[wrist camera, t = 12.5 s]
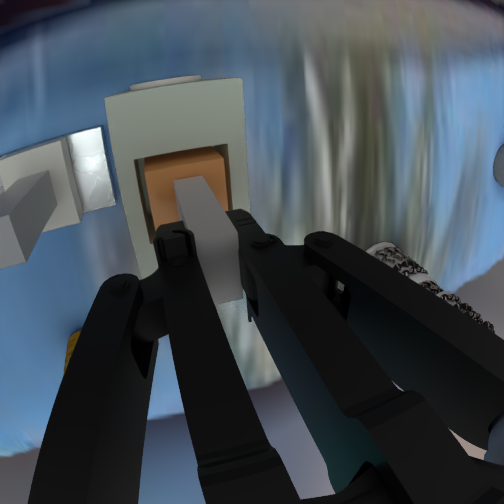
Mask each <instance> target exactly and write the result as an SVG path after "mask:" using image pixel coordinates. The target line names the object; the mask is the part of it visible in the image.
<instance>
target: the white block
mask: <svg viewBox="0 0 504 504" xmlns="http://www.w3.org/2000/svg"><path fill="white" fill-rule="evenodd" d="M104 100H105V107H106V114H107V121H108V128H109V134H110V140H111V146H112V152H113V157H114V162H115V168H116V173H117V178H118V183H119V188H120V192H121V197H122V202H123V206H124V211H125V215H126V219H127V223H128V227H129V232H130V236H131V240H132V243H133V247H134V251H135V255H136V259H137V262H138V266H139V270H140V273H141V277H142V279H144V278H146V277H148V276H150V275H151V274H152V273H154V272H155V271H156V270H157V268H158V262H157V258H156V254H155V250H154V245H153V240H154V238H155V237H156V231H155V226H154V221H153V216H152V211H151V206H150V201H149V195H148V190H147V184H146V179H145V173H144V157H149V156H154V155H159V154H165V153H170V152H176V151H182V150H188V149H194V148H200V147H207V146H212V147H213V148H214V149H215V150H216V151H217V152H218V153H219V154H220V155H221V156H222V157H223V158H224V166H225V178H226V189H227V200H228V211H230V210H235V209H243V210H245V211H247V212H249V213H250V201H249V185H248V168H247V152H246V135H245V119H244V102H243V86H242V78H219V79H202V80H201V75H193V76H185V77H177V78H170V79H163V80H157V81H151V82H145V83H140V84H135V85H130V91H125V92H121V93H118V94H114V95H111V96H108V97H106V98H104Z"/></svg>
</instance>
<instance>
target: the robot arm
mask: <svg viewBox="0 0 504 504" xmlns="http://www.w3.org/2000/svg"><path fill="white" fill-rule="evenodd" d="M173 184H174V191H175V197H176V203H177V210H178V216H179V221H177V222H172V223H167V224H162V225H159V227H158V228H157V230H156V237H155V238H154V240H153V245H154V250H155V254H156V258H157V262H158V268H157V270H156V271H155V272H154V273H152V274H151V275H150V276H148V277H146V278H144V279H142V280H139V279H138V278H137V276H135V275H132V274H118V275H115V276H112V277H110V278H109V279H108V280H106V281H105V282H104V283H103V284H102V286H101V287H100V289H99V291H98V293H97V295H96V298H95V300H94V302H93V304H92V307H91V309H90V311H89V313H88V316H87V318H86V320H85V323H84V325H83V328H82V330H81V332H80V335H79V337H78V340H77V342H76V345H75V347H74V350H73V352H72V355H71V357H70V360H69V363H68V365H67V368H66V371H65V373H64V376H63V379H62V382H61V385H60V387H59V390H58V393H57V396H56V399H55V402H54V405H53V408H52V411H51V415H50V418H49V421H48V424H47V428H46V431H45V434H44V438H43V441H42V445H41V449H40V453H39V456H38V460H37V464H36V468H35V472H34V477H33V481H32V485H31V490H30V495H29V500H28V504H138V498H139V486H140V476H141V465H142V456H143V446H144V439H145V431H146V423H147V416H148V408H149V401H150V395H151V388H152V381H153V375H154V369H155V363H156V357H157V351H158V345H159V343H158V339H159V338H161V337H163V336H165V335H167V334H169V339H170V344H171V350H172V355H173V360H174V365H175V370H176V375H177V380H178V385H179V389H180V394H181V398H182V403H183V407H184V412H185V416H186V420H187V424H188V428H189V432H190V436H191V440H192V444H193V448H194V452H195V455H196V459H197V464H198V469H197V471H198V477H199V481H200V485H201V488H202V492H203V495H204V499H205V502H206V504H504V340H503V339H502V338H500V337H499V336H497V335H496V334H494V333H493V332H491V331H490V330H489V329H487V328H486V327H484V326H483V325H481V324H480V323H478V322H477V321H475V320H474V319H472V318H471V317H469V316H468V315H466V314H465V313H463V312H462V311H460V310H459V309H457V308H456V307H454V306H453V305H451V304H449V303H448V302H446V301H445V300H443V299H442V298H440V297H439V296H437V295H435V294H434V293H432V292H431V291H429V290H428V289H426V288H424V287H423V286H421V285H420V284H418V283H416V282H415V281H413V280H412V279H410V278H408V277H407V276H405V275H403V274H402V273H400V272H399V271H397V270H395V269H394V268H392V267H390V266H389V265H387V264H385V263H384V262H382V261H380V260H379V259H377V258H375V257H374V256H372V255H370V254H369V253H367V252H365V251H363V250H362V249H360V248H358V247H357V246H355V245H353V244H351V243H350V242H348V241H346V240H345V239H343V238H341V237H339V236H338V235H335V234H333V233H329V232H325V231H321V232H320V231H318V232H314V233H310V234H308V235H307V236H306V237H305V239H304V245H284V243H283V242H282V241H281V240H280V239H279V238H278V237H277V236H275V235H272V234H265V232H264V231H263V230H262V228H261V227H260V226H259V225H258V223H256V221H255V219H253V217H252V216H251V214H250V213H249V212H247V211H245V210H243V209H235V210H230V211H224V209H223V208H222V206H221V205H220V203H219V201H218V200H217V198H216V196H215V195H214V193H213V192H212V190H211V188H210V187H209V185H208V184H207V182H206V180H205V179H204V177H203V175H201V176H195V177H189V178H184V179H178V180H173ZM338 281H340V282H341V283H343V284H344V285H345V286H344V291H341V290H339V289H338V288H337V286H338ZM242 287H243V289H244V291H245V293H246V299H247V311H248V321H249V322H252V320H251V317H253V319H254V321H255V323H256V325H257V328H258V330H259V332H260V334H261V336H262V338H263V340H264V342H265V344H266V346H267V348H268V350H269V352H270V354H271V356H272V358H273V360H274V362H275V364H276V366H277V368H278V370H279V372H280V374H281V376H282V378H283V380H284V382H285V384H286V386H287V388H288V390H289V392H290V394H291V396H292V398H293V400H294V402H295V404H296V406H297V408H298V410H299V412H300V414H301V416H302V418H303V420H304V422H305V424H306V426H307V428H308V430H309V432H310V433H311V435H312V437H313V439H314V441H315V443H316V445H317V447H318V449H319V451H320V453H321V455H322V456H323V458H324V461H325V463H326V465H327V469H328V476H329V479H330V483H331V485H332V487H333V489H334V491H335V493H336V494H333V495H328V496H322V497H315V498H309V499H302V500H300V498H299V496H298V494H297V491H296V489H295V487H294V485H293V483H292V481H291V479H290V476H289V474H288V472H287V470H286V468H285V466H284V464H283V461H282V459H281V457H280V455H279V454H278V452H277V451H276V449H275V448H273V447H272V446H271V445H270V443H269V442H268V439H267V437H266V435H265V432H264V430H263V427H262V425H261V423H260V420H259V418H258V416H257V413H256V411H255V408H254V406H253V403H252V401H251V398H250V396H249V393H248V391H247V389H246V386H245V384H244V381H243V378H242V376H241V373H240V371H239V368H238V366H237V363H236V361H235V358H234V355H233V353H232V350H231V348H230V345H229V342H228V340H227V337H226V334H225V332H224V329H223V326H222V324H221V321H220V318H219V315H218V313H217V310H216V307H215V305H217V304H221V303H225V302H230V301H234V300H238V299H242V298H243V289H242ZM391 380H392V381H393V382H394V383H395V384H396V385H398V386H399V387H400V388H401V389H402V390H404V391H401V390H399V389H398V388H397V387H396V386H395V385H394V383H393V382H392V381H391ZM449 429H450V430H452V431H453V432H454V433H456V434H457V435H458V436H460V437H461V438H463V439H464V440H466V441H468V442H469V443H471V444H473V445H475V446H477V447H479V448H482V449H484V450H487V452H486V454H485V455H484V460H481V459H478V458H474V457H471V456H469V455H468V454H467V453H466V451H465V450H464V449H463V447H462V446H461V444H460V443H459V442H458V440H457V439H456V438H455V436H454V435H453V434H452V432H451V431H450V430H449Z"/></svg>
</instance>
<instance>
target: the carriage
mask: <svg viewBox="0 0 504 504" xmlns="http://www.w3.org/2000/svg"><path fill="white" fill-rule="evenodd" d="M0 175H1V179H2V183H3V186H4V190H5V192H4V193H3V194H2V195H1V196H0V269H2V268H6V267H10V266H14V265H18V264H22V263H25V262H27V260H28V258H29V256H30V254H31V252H32V250H33V248H34V246H35V244H36V242H37V240H38V238H39V236H40V235H41V233H42V232H46V231H50V230H53V229H57V228H61V227H65V226H69V225H73V224H77V223H80V222H81V219H82V216H83V214H84V213H83V209H82V205H81V202H80V198H79V194H78V190H77V186H76V182H75V177H74V173H73V169H72V164H71V159H70V155H69V150H68V145H67V139H66V137H62V138H59V139H55V140H52V141H49V142H45V143H42V144H39V145H36V146H33V147H30V148H27V149H24V150H21V151H18V152H15V153H12V154H9V155H7V156H5V157H3V158H2V159H0Z"/></svg>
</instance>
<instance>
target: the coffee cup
mask: <svg viewBox="0 0 504 504" xmlns="http://www.w3.org/2000/svg"><path fill="white" fill-rule="evenodd" d="M493 173H494V177H495V179H496V181H498V182H499V184H500V185H502V186H503V187H504V145H503V146H502V147H500V149H499V150H498V152H497V154H496V157H495V161H494V167H493Z"/></svg>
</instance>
